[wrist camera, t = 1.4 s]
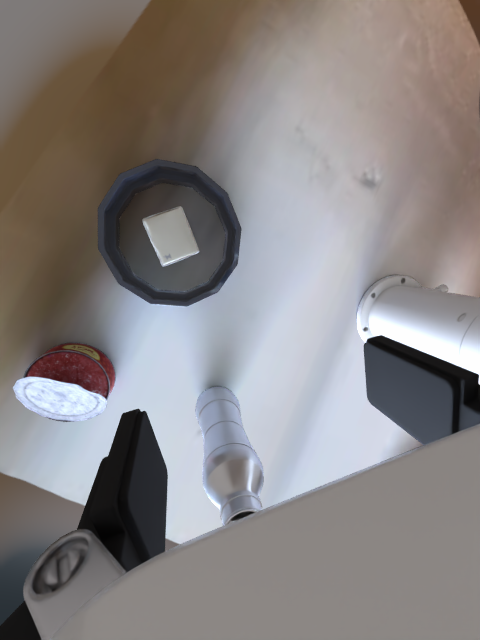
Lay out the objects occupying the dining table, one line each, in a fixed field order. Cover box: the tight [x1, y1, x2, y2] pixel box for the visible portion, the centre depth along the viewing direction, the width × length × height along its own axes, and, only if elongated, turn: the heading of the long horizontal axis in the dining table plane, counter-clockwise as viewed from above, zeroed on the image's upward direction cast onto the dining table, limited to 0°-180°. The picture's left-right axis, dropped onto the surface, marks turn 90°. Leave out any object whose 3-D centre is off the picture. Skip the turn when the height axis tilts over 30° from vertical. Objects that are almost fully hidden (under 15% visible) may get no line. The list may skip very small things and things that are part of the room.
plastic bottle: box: [195, 386, 264, 526], centre depth 32 cm, size 6×7×20 cm
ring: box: [98, 159, 241, 307], centre depth 32 cm, size 15×15×5 cm
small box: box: [143, 206, 199, 267], centre depth 30 cm, size 5×4×8 cm
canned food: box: [13, 343, 115, 422], centre depth 33 cm, size 11×10×10 cm
